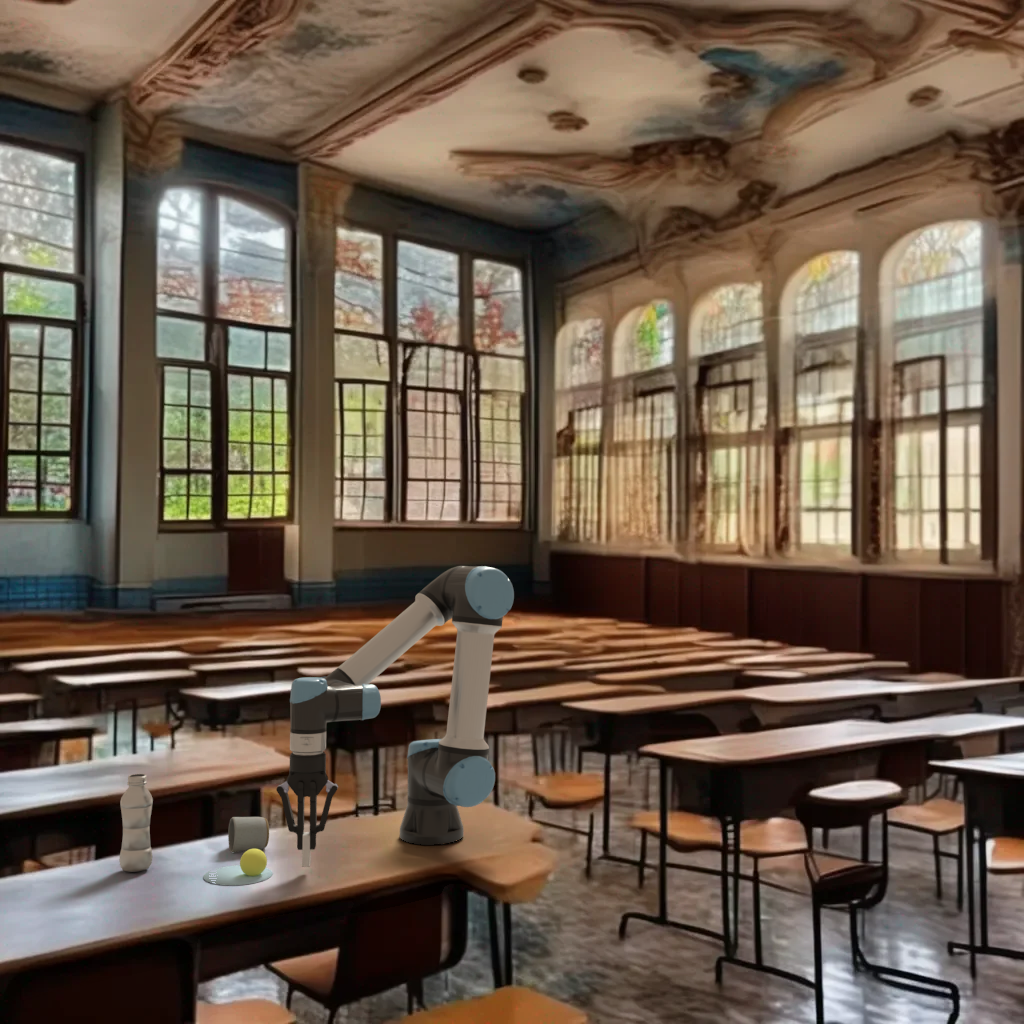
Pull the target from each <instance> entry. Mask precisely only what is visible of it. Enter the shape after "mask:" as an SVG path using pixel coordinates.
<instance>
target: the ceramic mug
mask: <svg viewBox="0 0 1024 1024" xmlns="http://www.w3.org/2000/svg"><path fill="white" fill-rule="evenodd" d="M227 835H228V836H227V837H228V838H227V840H228V849H229V851H230V852H231V853H232V852H234V853H240V852H241V853H242V852H243V851H244V852H246V851H247V850H249V849H259V850H261V851H262V850H264V849H266V848H267V846H268V844H269V841H270V825H269V820H268V819H267V818H266V817H261V816H232V817H231V818H230V820H229V823H228V833H227ZM244 852H243V853H244Z"/></svg>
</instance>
